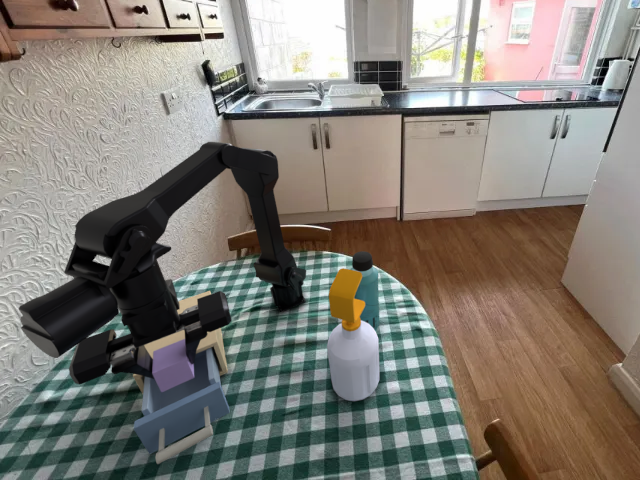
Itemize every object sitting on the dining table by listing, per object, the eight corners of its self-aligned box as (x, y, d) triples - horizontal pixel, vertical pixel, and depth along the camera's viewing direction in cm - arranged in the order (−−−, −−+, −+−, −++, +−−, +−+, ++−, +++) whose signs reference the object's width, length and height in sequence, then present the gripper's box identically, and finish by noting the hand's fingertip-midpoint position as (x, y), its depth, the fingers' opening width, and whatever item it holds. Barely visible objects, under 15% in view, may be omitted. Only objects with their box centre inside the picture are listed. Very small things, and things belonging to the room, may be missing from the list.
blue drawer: (233, 439, 49) (223, 413, 47) (147, 488, 44) (129, 462, 41) (220, 349, 64) (212, 325, 61) (154, 377, 59) (141, 352, 56)
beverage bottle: (366, 312, 74) (363, 242, 65) (386, 329, 69) (385, 255, 61) (345, 328, 70) (338, 255, 61) (364, 347, 65) (360, 271, 57)
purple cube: (193, 356, 53) (185, 338, 51) (194, 377, 49) (186, 358, 47) (162, 369, 51) (153, 351, 49) (161, 392, 47) (151, 373, 45)
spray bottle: (385, 363, 62) (384, 264, 51) (369, 409, 54) (362, 303, 44) (344, 351, 64) (335, 254, 54) (323, 393, 57) (306, 289, 46)
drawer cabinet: (228, 372, 61) (217, 341, 57) (150, 408, 55) (132, 376, 51) (219, 318, 73) (210, 290, 69) (154, 343, 67) (141, 313, 63)
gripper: (211, 244, 54) (231, 311, 60) (67, 285, 45) (109, 359, 51) (219, 281, 45) (242, 355, 52) (43, 341, 36) (97, 421, 43)
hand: (176, 369), depth 50 cm, fingers closed on purple cube, 4 cm apart
